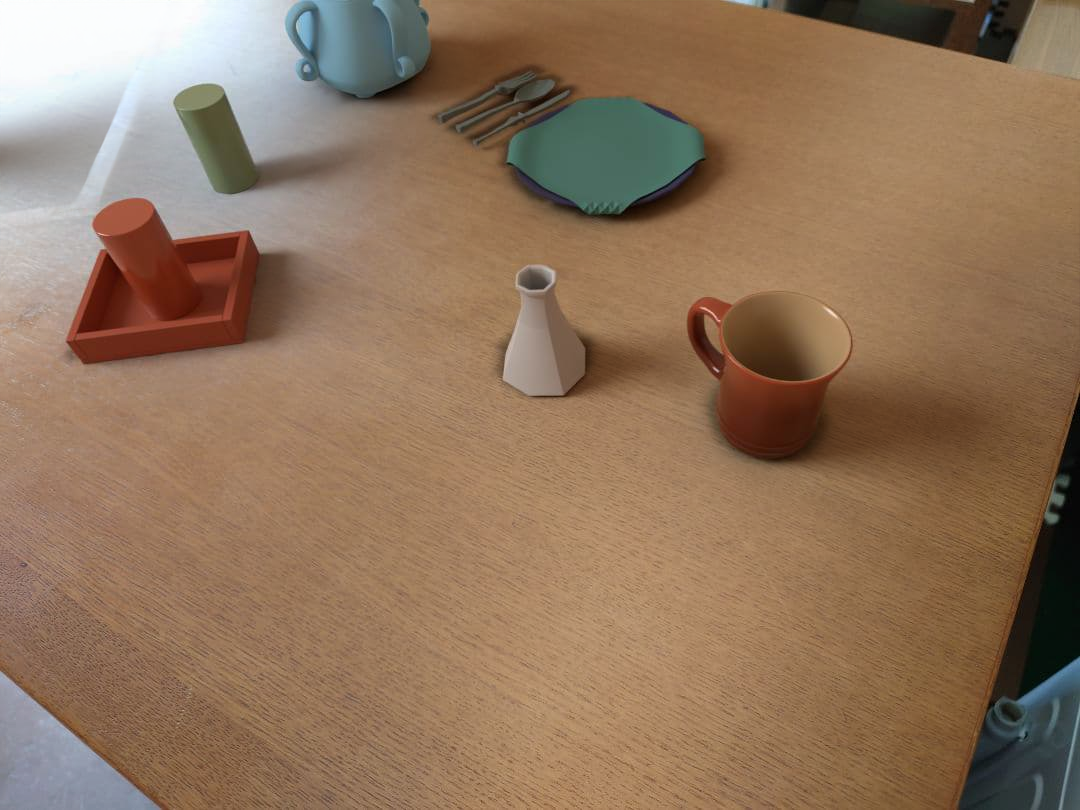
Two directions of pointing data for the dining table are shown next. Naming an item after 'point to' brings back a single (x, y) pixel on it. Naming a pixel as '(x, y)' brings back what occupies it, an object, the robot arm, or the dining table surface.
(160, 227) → the terracotta canister
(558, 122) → the cutlery set
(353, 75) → the decorative pot
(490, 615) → the dining table surface
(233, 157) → the sage canister
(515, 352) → the flask
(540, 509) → the dining table surface
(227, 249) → the terracotta tray
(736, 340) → the mug
